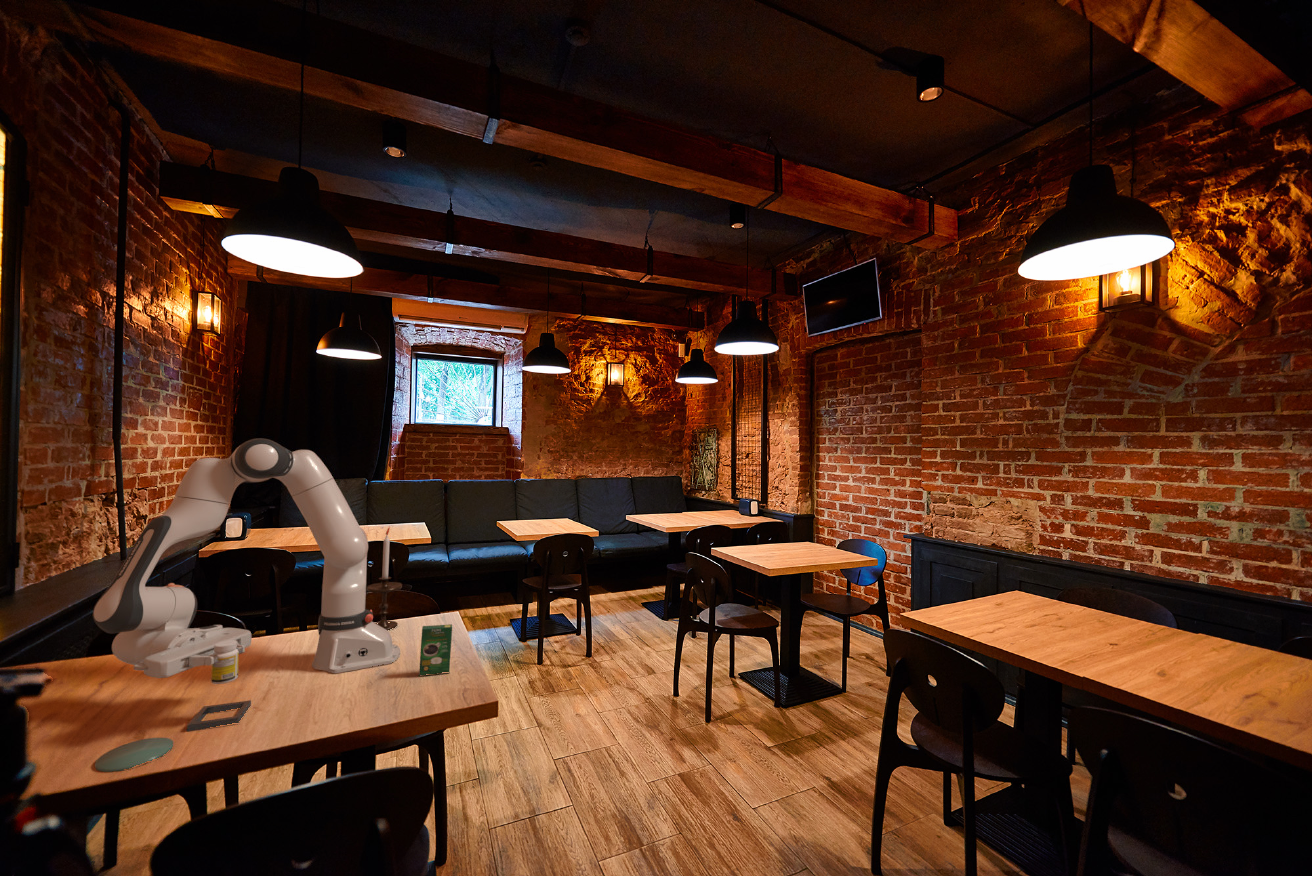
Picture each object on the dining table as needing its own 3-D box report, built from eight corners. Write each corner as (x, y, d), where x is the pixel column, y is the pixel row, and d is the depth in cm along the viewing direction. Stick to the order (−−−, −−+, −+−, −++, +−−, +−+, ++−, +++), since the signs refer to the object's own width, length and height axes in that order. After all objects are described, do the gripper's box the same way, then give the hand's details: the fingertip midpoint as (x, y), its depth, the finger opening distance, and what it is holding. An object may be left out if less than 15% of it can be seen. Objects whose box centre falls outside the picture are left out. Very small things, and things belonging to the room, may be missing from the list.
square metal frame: (250, 706, 125) (251, 700, 125) (238, 724, 117) (238, 717, 117) (203, 712, 122) (203, 706, 122) (186, 731, 113) (187, 725, 113)
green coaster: (182, 736, 112) (182, 733, 112) (158, 764, 101) (158, 761, 101) (114, 746, 107) (114, 743, 107) (81, 777, 97) (81, 773, 97)
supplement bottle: (221, 675, 122) (222, 639, 122) (243, 675, 122) (244, 639, 123) (205, 685, 117) (206, 647, 117) (228, 684, 118) (229, 646, 118)
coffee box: (450, 669, 149) (452, 623, 149) (450, 673, 146) (452, 626, 147) (419, 673, 146) (421, 625, 147) (418, 677, 143) (420, 628, 144)
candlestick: (398, 620, 190) (402, 523, 191) (402, 629, 181) (406, 527, 182) (364, 625, 184) (368, 525, 186) (366, 634, 175) (370, 529, 176)
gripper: (128, 652, 112) (179, 658, 110) (224, 622, 132) (269, 626, 130) (126, 682, 112) (178, 689, 110) (223, 647, 132) (269, 652, 130)
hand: (228, 655), depth 120 cm, fingers closed on supplement bottle, 5 cm apart
